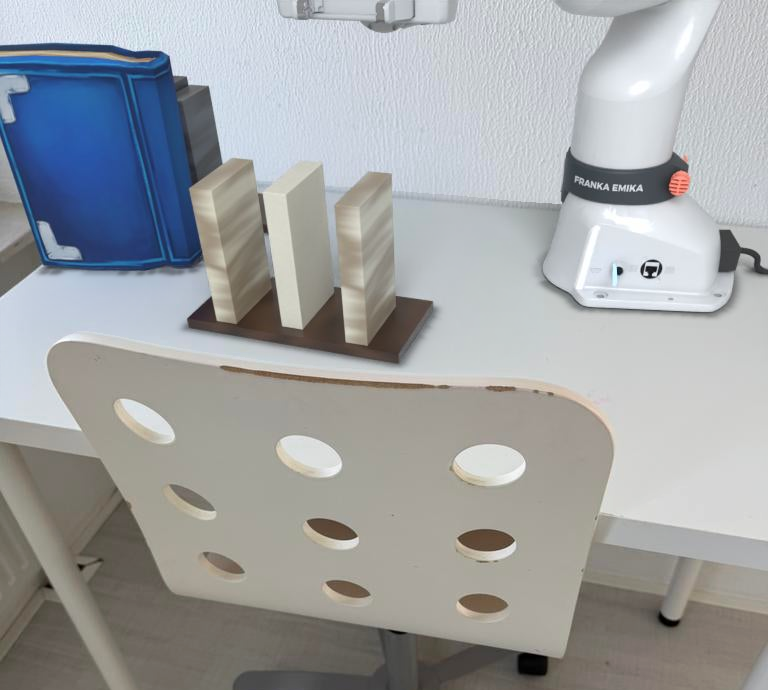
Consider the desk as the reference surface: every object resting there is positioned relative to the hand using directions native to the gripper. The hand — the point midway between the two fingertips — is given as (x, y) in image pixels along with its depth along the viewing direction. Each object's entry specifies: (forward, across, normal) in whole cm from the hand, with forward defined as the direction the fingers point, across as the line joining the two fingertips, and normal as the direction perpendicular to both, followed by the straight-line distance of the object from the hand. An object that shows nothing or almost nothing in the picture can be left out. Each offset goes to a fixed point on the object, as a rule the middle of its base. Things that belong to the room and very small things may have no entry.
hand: (339, 12), depth 80 cm
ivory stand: (+14, 0, +28) cm, 31 cm away
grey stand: (-11, -24, +28) cm, 38 cm away
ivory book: (+14, 0, +27) cm, 30 cm away
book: (+7, -30, +28) cm, 42 cm away
